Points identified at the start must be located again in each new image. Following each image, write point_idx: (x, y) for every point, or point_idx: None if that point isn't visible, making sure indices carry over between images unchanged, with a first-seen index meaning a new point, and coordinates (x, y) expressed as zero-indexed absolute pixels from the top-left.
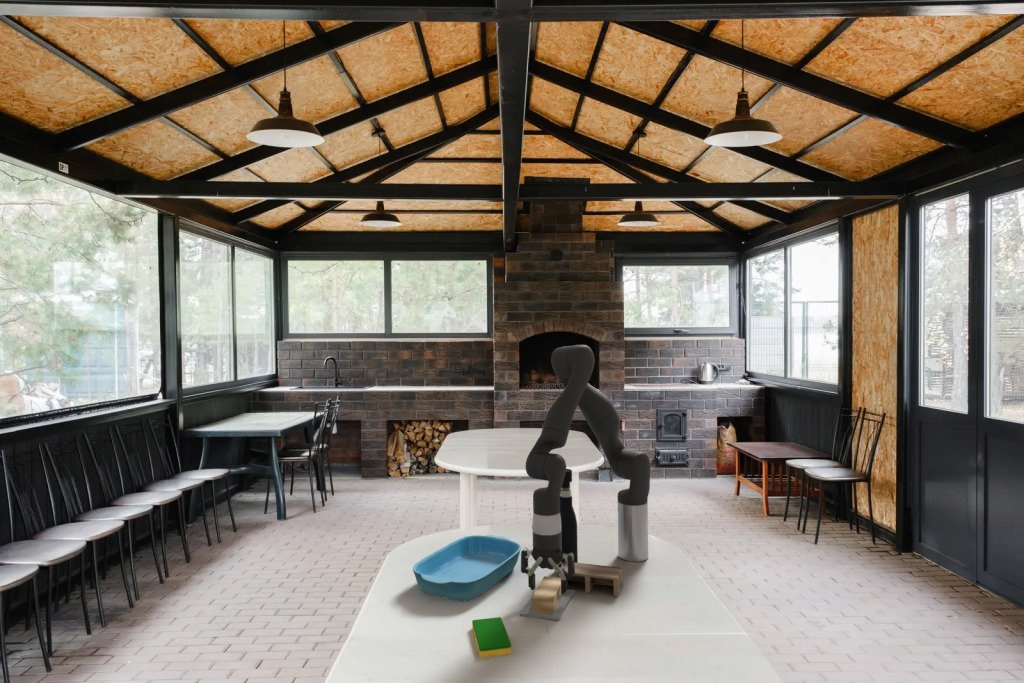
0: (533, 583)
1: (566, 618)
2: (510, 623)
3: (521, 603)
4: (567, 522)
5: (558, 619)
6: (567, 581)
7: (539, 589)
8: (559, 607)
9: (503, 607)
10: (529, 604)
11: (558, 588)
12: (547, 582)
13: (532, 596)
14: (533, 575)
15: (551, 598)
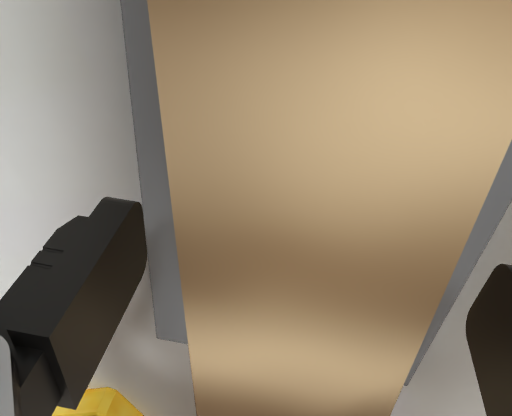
0: (116, 310)
1: (463, 353)
2: (148, 381)
3: (98, 194)
4: None
5: (407, 380)
6: None
7: (214, 305)
8: None
9: (17, 252)
10: (170, 242)
11: (443, 286)
12: (267, 130)
13: (137, 104)
14: (57, 378)
15: None
